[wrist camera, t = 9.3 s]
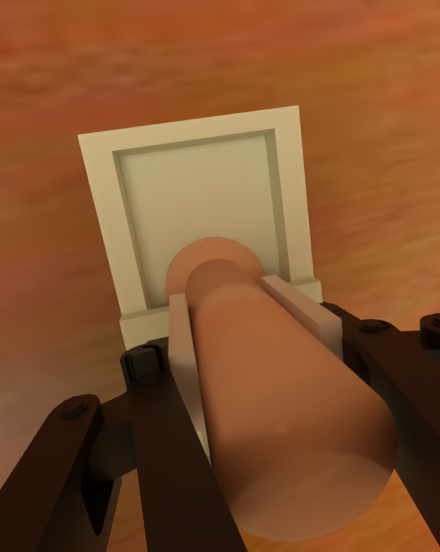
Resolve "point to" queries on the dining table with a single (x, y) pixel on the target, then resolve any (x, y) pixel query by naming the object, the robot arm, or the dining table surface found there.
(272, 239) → the slot board
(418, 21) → the dining table surface
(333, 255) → the dining table surface
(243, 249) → the peg
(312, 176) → the dining table surface
